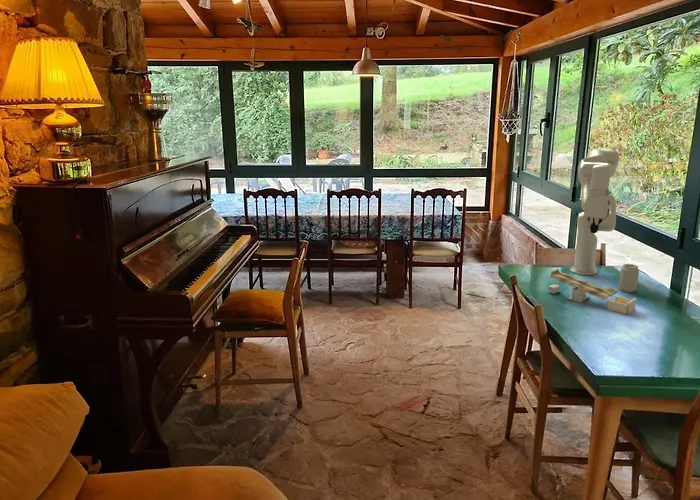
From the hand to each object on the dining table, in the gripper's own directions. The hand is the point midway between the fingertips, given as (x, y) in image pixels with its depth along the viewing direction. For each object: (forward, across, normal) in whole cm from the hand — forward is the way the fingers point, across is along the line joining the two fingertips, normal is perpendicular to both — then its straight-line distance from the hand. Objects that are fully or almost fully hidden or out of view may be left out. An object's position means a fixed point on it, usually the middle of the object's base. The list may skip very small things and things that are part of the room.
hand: (593, 232), depth 240 cm
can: (+27, -14, -11) cm, 33 cm away
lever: (+22, -3, +12) cm, 25 cm away
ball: (+25, -20, +16) cm, 36 cm away
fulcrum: (+27, +2, +16) cm, 32 cm away
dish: (+27, -21, +16) cm, 38 cm away
